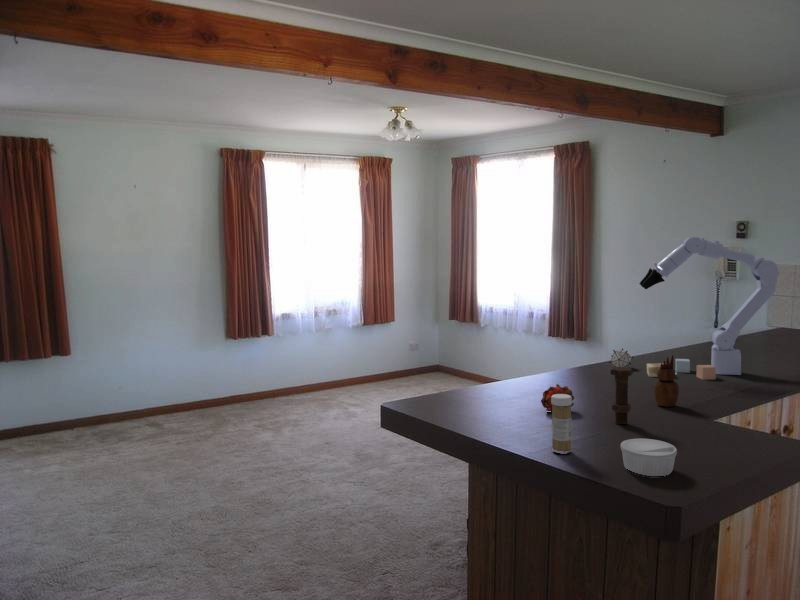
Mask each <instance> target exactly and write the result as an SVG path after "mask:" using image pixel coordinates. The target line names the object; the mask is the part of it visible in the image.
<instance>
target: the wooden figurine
mask: <svg viewBox="0 0 800 600" xmlns="http://www.w3.org/2000/svg"><path fill="white" fill-rule="evenodd" d="M660 363H661V366H660V369H659V370H658V372H657V377H656V378H658V380H656V381H655V382H654V384H653V396H654V401H655V402H656V404H657V405H658V406H660V407H663V406H665V407H664V408H670V407H674V406H676V404H677V402H678V399H679V395H680V393H679V392H680V389H679V388H680V387H679V384H678V383H677V382H676V381H674V380H676V379H675V378H676V374H675V372H676V370H675V369H674V355H671V359H669V356H667V357H666V361H665V360H663V364H662V362H660Z"/></svg>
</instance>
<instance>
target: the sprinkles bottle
mask: <svg viewBox="0 0 800 600" xmlns="http://www.w3.org/2000/svg"><path fill="white" fill-rule="evenodd" d="M551 403H552V413H551V439H552V440H551V445H552V447H551V449H552V448H553V449H554V450H557V451H564V452H565V451H570V450H571V451H572V407H571V404H572V403H573V400H572V397H571V396H570V395H567V394H555V395H552V397H551Z"/></svg>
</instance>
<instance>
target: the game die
mask: <svg viewBox="0 0 800 600" xmlns="http://www.w3.org/2000/svg"><path fill="white" fill-rule="evenodd" d="M612 352H613V354H612V355H610V356H611V359H610V361H608V362H607V363H608V364H610V363H611V365H612V366H614V367H628V368H630V365H632V363H631V362H632V359H634V357H635V356H631V355H630V354H629V353H628V350H626V351H625V350H624V348H621V350H615V349H613V350H612Z"/></svg>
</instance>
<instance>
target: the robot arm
mask: <svg viewBox="0 0 800 600" xmlns="http://www.w3.org/2000/svg"><path fill="white" fill-rule="evenodd" d="M694 254H698V255H699V256H702V257H706V258H710V259H715V260H718V259H721V258H726V259H729V260H733V261H737V262H740V263H743V264H744V265H745V266H746V268H748V269H749V268H750V271H751V274H752V275H753V277H754V279H755V280H756V286H757V288H756V289H755V290H754V291H753V292H752V294H751V295H750V296H749V297H748V298H747V299H746V301H745V302H744V303H743V304H742V305H741V306H740V307H739V309H738V310H737V311H736V312H735V313H734V314H733V315H732V316H731V318H730V319H729V320H728V321H727V322H725V323H724V324H722V326H720V327H719V328H717V329H715V330H713V331H712V333H711V335H710V340H711V342H712V343H713V344H712V346H711V352H710V353H711V358H710V359H711V362H710V365H711V366H714V367H716V375H725V376H728V375H729V376H730V375H731V376H732V375H733V376H735V375H737V376H741V375H742V353H741V350H740V349H737V348H736V349H735V347H734V346H735V344H736V340H737V338H738V337H739V336H740V332H741V330H742V329H743V328H744V327H745V326H746V325H747V324H748V322H749V321H750V320H752V318H753V317H754V316H755V315H756V314H757V312H758V311H759V310H760V309H761V308H762V307H763V305H764V304H765V303H766V302H767V301H768V300H769V299H770V298H771V297H772V296H773V295H774V294H775V292H776V290H777V289H776V287H777V283H778V277H779V275H780V272H779V269H778V266H777V265H778V264H777V263H776V262H775V261H774V260H769V259H767V260H766V259H765V258H764V257H762V256H759V255H756V254H752V253H747V252H742V251H738V250H733V249H729V248H725V247H724V245H723V244H722V243H720V241H718V240H714V241H711V240H709V239H708V240H707V239H705V237H697V236H693V237H691V236H690V237H687V238H685V239H683V241H682V244H680V245H679V246H678V247H676V248H675V249H674V250H672V251H671V252H670V253H669V254H667V255H666V256H665V257H664V258H662V260H660V261H659V262H658V263H657V262H655V261H654V262H653V263H652V264H653V265H654V267H655V268H653V269H652V268H651V267H649V269H648V271H647V273H646V274H645V275H644V277H643V278H642V280H641V281H640V282H639V285H640V286H641V287H642V288H643V289H644V290H648V289H650V288H652V287H653V286H655V285H657V284H660V283H663V282H665V279H664V278H663V277H665V278H668V277H669V275H670V274H673V272H674V271H676V270H677V269H678V268H679V267H680V266H682V265H683V264H684V263H685V262H686V261H688V260H689V258H691V257H692V256H693V255H694Z"/></svg>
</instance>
